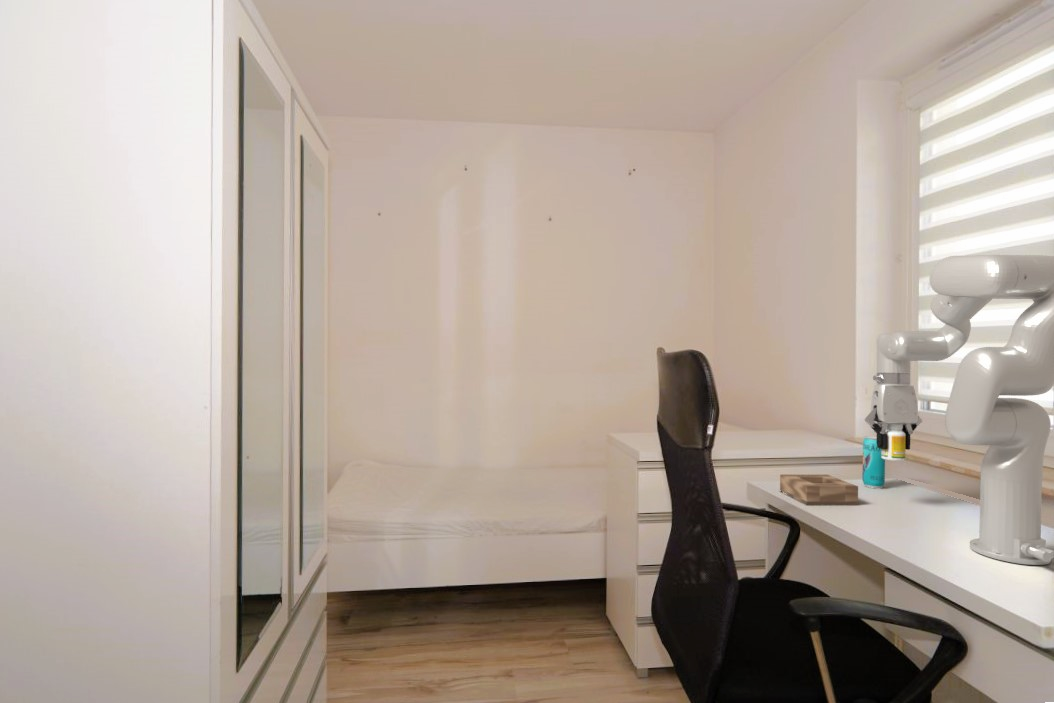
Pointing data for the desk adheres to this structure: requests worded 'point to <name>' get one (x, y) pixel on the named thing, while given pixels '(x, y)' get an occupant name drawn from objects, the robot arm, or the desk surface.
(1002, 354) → the robot arm
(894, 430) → the supplement bottle
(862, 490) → the desk surface
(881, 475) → the beverage can
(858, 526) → the desk surface
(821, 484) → the socket block
